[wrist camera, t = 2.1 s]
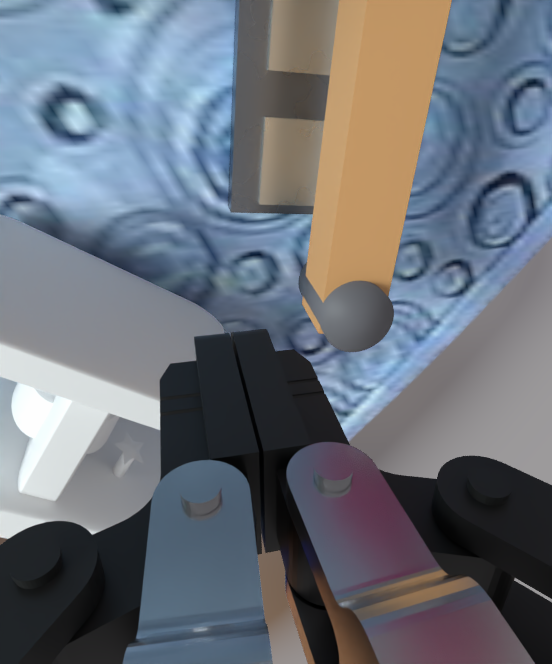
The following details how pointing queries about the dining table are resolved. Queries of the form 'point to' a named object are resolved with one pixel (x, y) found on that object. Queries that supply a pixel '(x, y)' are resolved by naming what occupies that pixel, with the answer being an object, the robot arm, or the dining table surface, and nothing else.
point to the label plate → (279, 103)
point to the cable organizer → (82, 381)
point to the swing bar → (368, 162)
